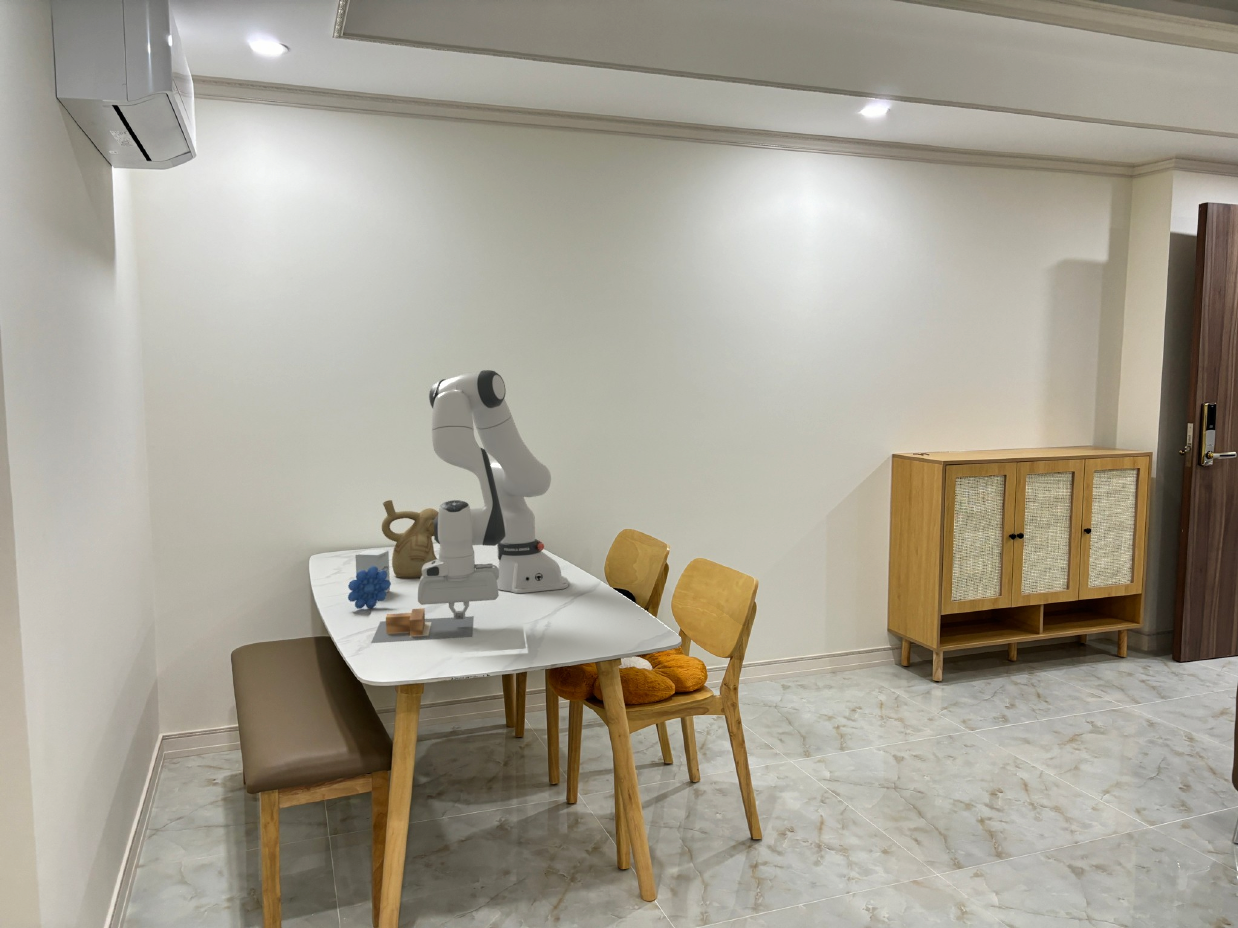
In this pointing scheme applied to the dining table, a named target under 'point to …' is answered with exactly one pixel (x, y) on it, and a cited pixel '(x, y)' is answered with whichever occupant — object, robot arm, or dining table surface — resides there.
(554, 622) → the dining table surface
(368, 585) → the blue lumpy cluster
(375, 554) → the supplement box
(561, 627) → the dining table surface
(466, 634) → the push board
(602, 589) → the dining table surface
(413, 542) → the ceramic vessel
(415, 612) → the t block
